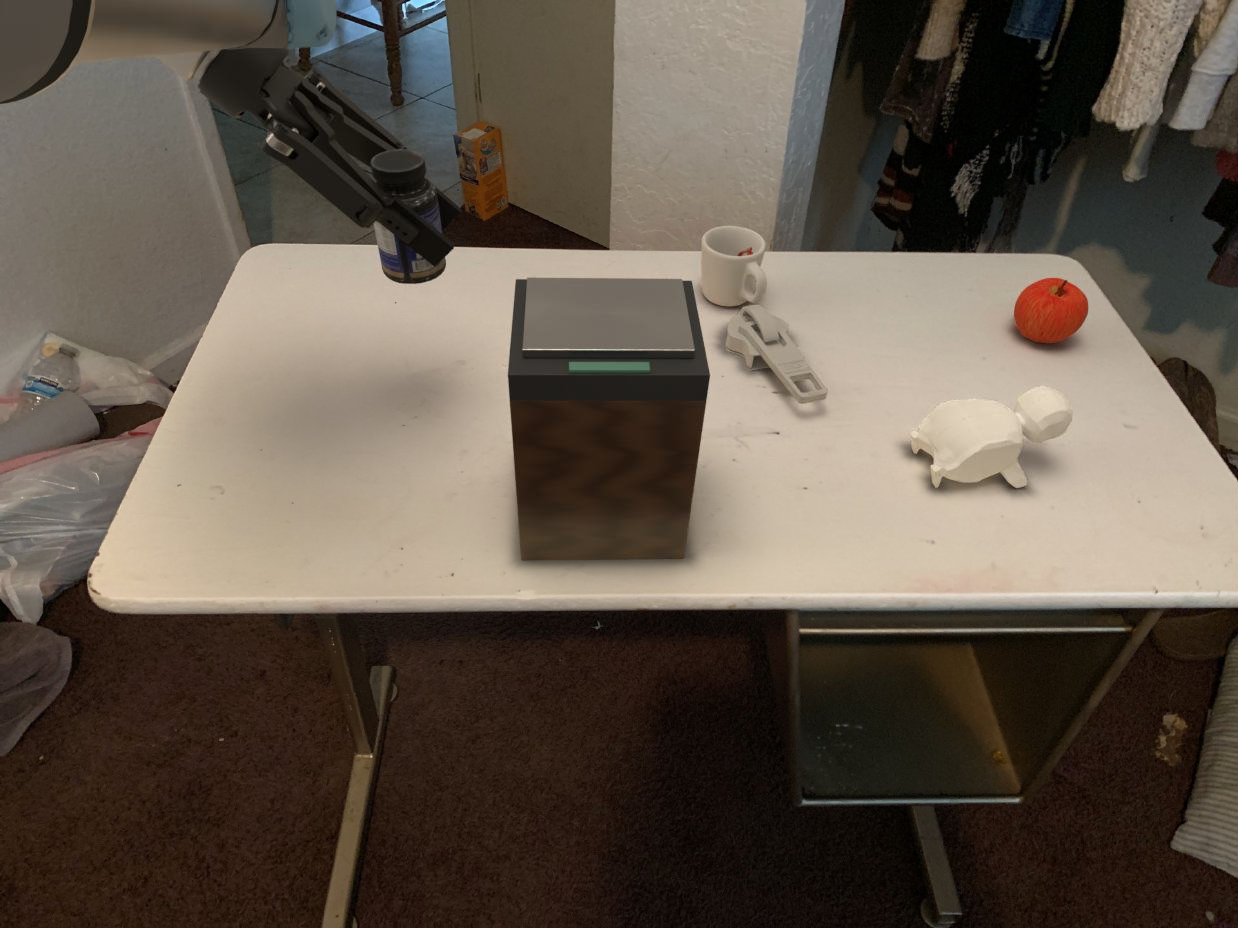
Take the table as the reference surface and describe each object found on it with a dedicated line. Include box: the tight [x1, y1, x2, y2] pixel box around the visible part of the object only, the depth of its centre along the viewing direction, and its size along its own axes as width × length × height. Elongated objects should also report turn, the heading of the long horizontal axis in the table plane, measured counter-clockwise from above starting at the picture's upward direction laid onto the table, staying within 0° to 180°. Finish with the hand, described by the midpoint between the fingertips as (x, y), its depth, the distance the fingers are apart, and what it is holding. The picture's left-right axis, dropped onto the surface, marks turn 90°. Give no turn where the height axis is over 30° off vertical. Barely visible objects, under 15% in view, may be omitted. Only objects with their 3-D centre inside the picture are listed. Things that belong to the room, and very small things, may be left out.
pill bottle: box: [370, 148, 447, 285], centre depth 77 cm, size 6×6×11 cm
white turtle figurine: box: [909, 385, 1073, 489], centre depth 85 cm, size 9×8×15 cm
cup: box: [700, 225, 768, 307], centre depth 105 cm, size 11×8×8 cm
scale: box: [507, 277, 711, 402], centre depth 67 cm, size 15×13×3 cm
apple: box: [1013, 277, 1089, 344], centre depth 102 cm, size 8×8×8 cm
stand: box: [509, 400, 707, 561], centre depth 75 cm, size 15×13×19 cm
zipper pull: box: [724, 303, 829, 405], centre depth 97 cm, size 8×18×4 cm, turn 18°
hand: (448, 237), depth 79 cm, fingers closed on pill bottle, 6 cm apart
